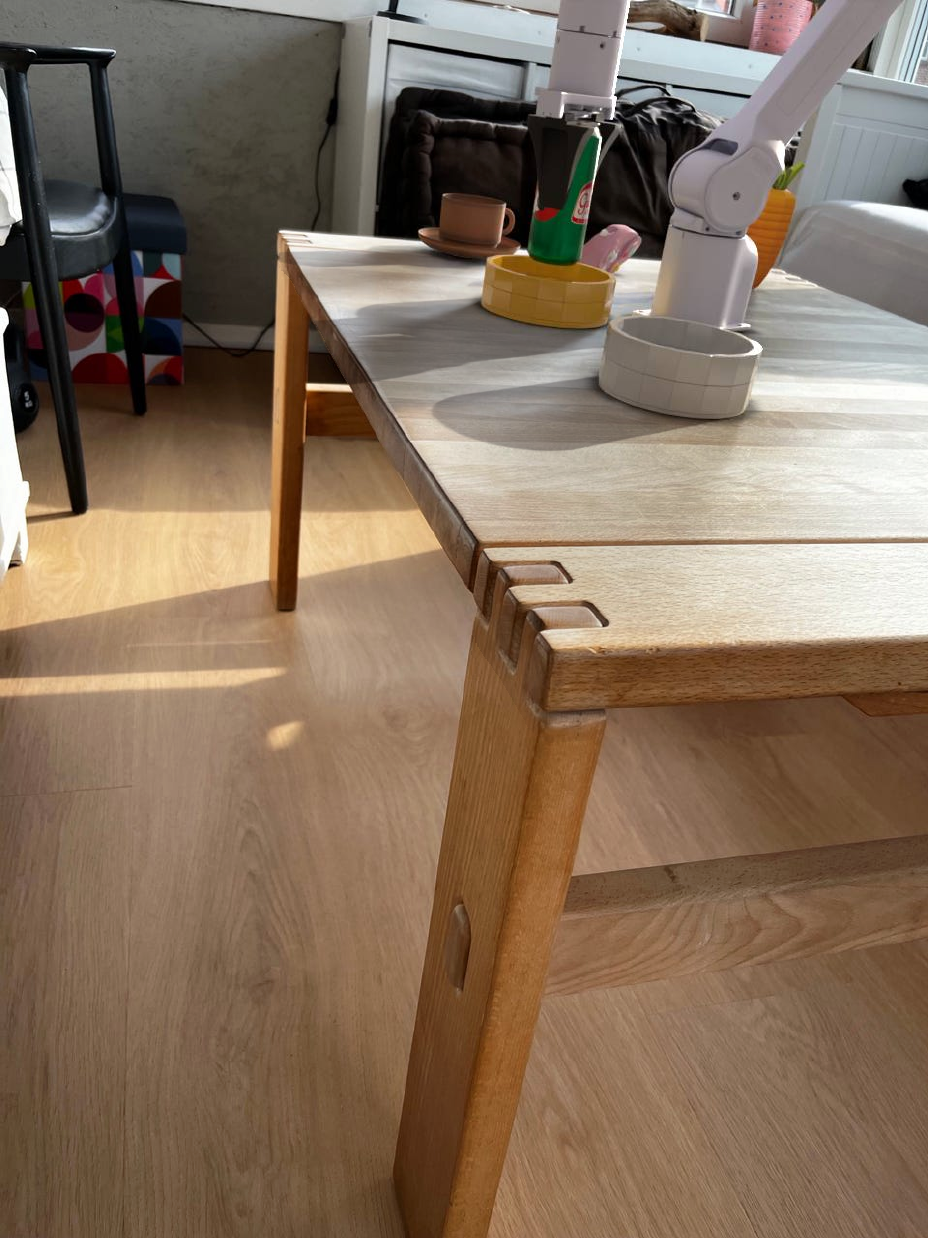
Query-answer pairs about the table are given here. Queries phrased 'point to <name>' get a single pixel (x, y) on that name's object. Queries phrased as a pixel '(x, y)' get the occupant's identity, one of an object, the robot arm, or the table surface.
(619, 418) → the table surface
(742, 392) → the pot
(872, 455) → the table surface
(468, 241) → the cup and saucer
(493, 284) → the bowl
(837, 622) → the table surface
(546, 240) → the soda can
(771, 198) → the carrot
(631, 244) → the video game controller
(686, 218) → the robot arm
